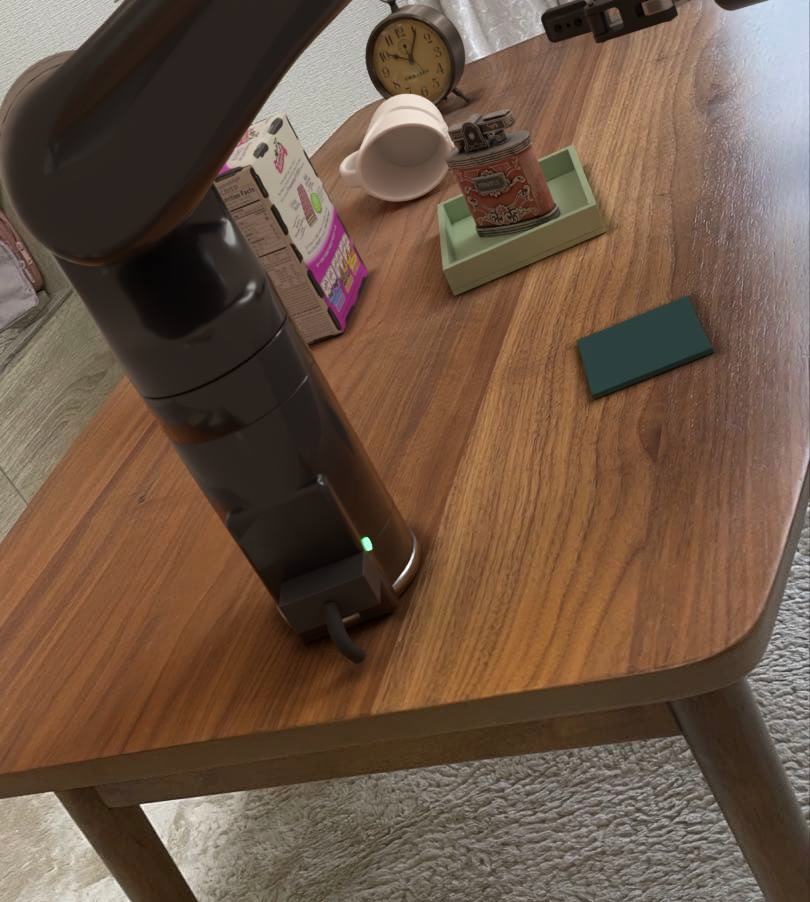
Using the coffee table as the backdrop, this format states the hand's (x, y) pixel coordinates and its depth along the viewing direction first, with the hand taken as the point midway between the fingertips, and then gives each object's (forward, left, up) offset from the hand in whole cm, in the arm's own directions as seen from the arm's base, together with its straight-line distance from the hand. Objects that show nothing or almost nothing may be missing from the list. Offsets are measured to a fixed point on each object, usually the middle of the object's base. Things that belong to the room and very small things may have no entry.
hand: (568, 2), depth 91 cm
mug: (+29, +20, -17) cm, 39 cm away
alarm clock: (+51, +16, -17) cm, 56 cm away
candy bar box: (+6, +28, -17) cm, 33 cm away
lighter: (+6, +10, -17) cm, 20 cm away
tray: (+6, +10, -17) cm, 20 cm away
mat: (-22, +4, -17) cm, 28 cm away
